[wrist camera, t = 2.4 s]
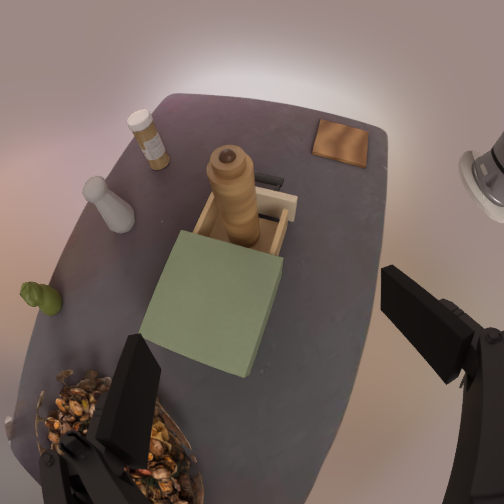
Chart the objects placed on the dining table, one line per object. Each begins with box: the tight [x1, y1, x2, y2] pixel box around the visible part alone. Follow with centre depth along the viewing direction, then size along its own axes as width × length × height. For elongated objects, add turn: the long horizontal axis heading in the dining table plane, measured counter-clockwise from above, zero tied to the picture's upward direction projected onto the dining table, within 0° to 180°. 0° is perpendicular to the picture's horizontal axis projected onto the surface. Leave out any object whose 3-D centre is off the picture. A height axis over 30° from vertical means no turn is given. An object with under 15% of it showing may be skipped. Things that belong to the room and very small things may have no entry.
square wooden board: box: [312, 119, 368, 168], centre depth 51 cm, size 11×11×1 cm
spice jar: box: [127, 109, 170, 170], centre depth 47 cm, size 5×5×14 cm
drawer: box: [193, 172, 298, 256], centre depth 41 cm, size 19×13×6 cm
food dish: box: [35, 370, 205, 504], centre depth 27 cm, size 35×33×8 cm
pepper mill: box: [206, 145, 260, 248], centre depth 34 cm, size 5×5×18 cm
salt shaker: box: [82, 176, 135, 233], centre depth 42 cm, size 6×6×13 cm
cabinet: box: [138, 230, 283, 378], centre depth 37 cm, size 16×15×8 cm
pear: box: [20, 282, 62, 316], centre depth 37 cm, size 6×5×10 cm
